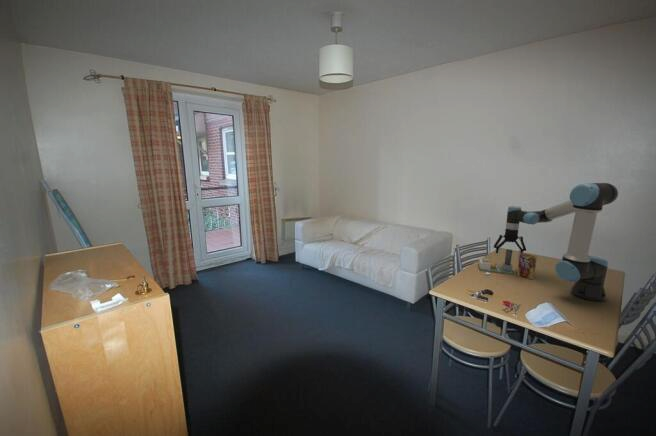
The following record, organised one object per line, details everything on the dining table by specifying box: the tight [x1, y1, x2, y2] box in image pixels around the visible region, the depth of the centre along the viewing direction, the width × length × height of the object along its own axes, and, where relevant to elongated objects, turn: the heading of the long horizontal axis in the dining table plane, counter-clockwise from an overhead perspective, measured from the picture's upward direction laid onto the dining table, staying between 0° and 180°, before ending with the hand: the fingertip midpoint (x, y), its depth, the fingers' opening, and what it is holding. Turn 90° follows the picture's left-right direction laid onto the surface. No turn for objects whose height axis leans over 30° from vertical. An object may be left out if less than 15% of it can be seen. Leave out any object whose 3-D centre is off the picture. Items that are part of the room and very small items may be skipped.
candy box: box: [516, 252, 538, 280], centre depth 193 cm, size 9×4×15 cm, turn 39°
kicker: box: [501, 248, 513, 272], centre depth 203 cm, size 6×5×14 cm
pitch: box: [477, 258, 514, 276], centre depth 207 cm, size 13×20×6 cm, turn 69°
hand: (508, 258), depth 203 cm, fingers open, 12 cm apart
